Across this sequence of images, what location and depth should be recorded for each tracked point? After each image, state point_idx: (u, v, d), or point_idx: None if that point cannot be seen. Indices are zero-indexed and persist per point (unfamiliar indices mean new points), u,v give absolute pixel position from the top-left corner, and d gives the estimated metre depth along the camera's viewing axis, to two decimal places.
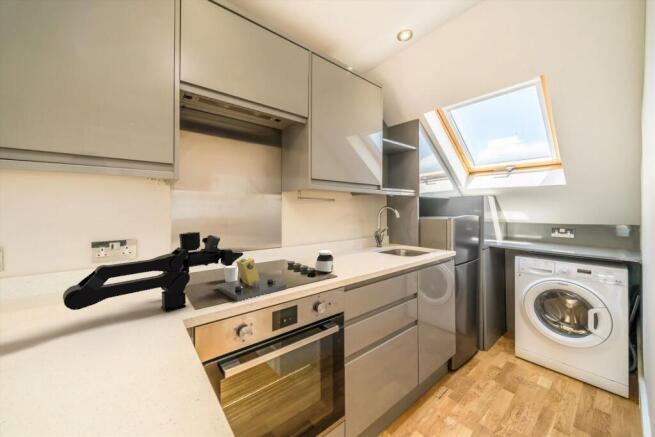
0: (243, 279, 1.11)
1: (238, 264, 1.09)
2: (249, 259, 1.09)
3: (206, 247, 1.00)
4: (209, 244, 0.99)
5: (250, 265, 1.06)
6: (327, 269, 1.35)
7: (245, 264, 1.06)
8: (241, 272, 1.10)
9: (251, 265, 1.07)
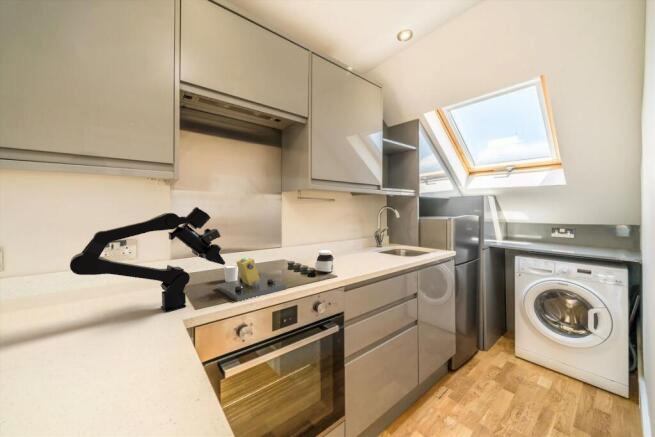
0: (243, 279, 1.11)
1: (238, 264, 1.09)
2: (249, 259, 1.09)
3: (203, 235, 0.98)
4: (208, 233, 0.98)
5: (250, 265, 1.06)
6: (327, 269, 1.35)
7: (245, 264, 1.06)
8: (241, 272, 1.10)
9: (251, 265, 1.07)
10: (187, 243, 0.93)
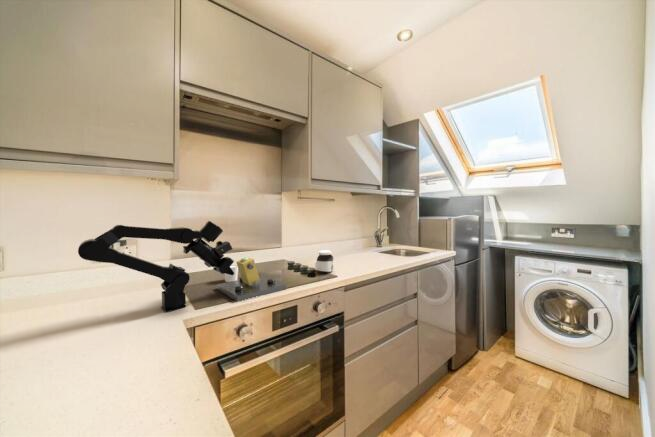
0: (243, 279, 1.11)
1: (238, 264, 1.09)
2: (249, 259, 1.09)
3: (216, 248, 1.02)
4: (220, 246, 1.01)
5: (250, 265, 1.06)
6: (327, 269, 1.35)
7: (245, 264, 1.06)
8: (241, 272, 1.10)
9: (251, 265, 1.07)
10: (201, 256, 0.96)
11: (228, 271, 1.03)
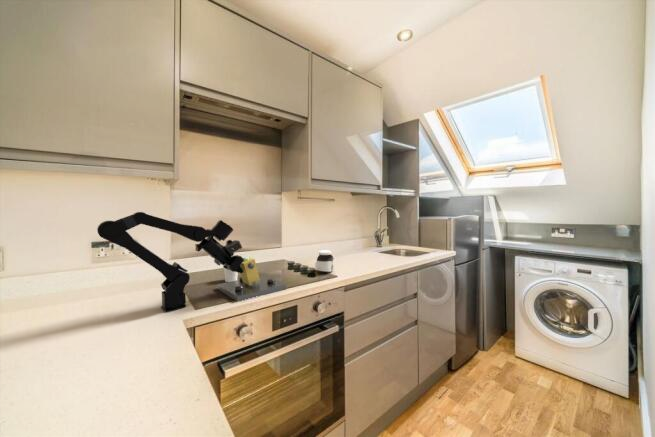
0: (243, 279, 1.11)
1: None
2: (250, 259, 1.10)
3: (226, 246, 1.04)
4: (231, 245, 1.04)
5: (251, 265, 1.07)
6: (327, 269, 1.35)
7: (246, 263, 1.06)
8: None
9: (252, 265, 1.07)
10: (212, 254, 0.99)
11: (238, 269, 1.06)
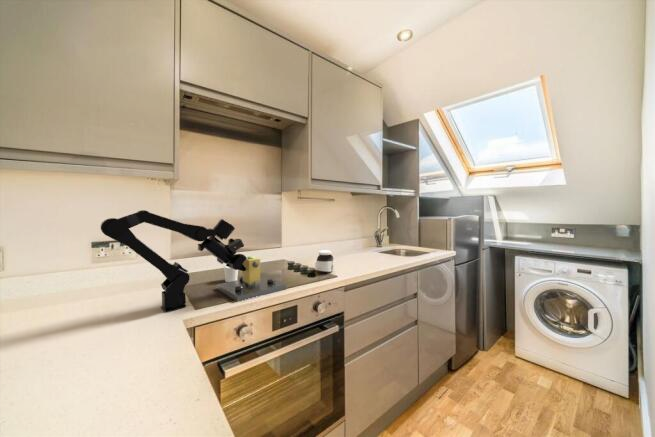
0: (244, 277, 1.11)
1: (244, 261, 1.11)
2: (255, 258, 1.11)
3: (228, 245, 1.05)
4: (233, 243, 1.04)
5: (255, 263, 1.08)
6: (327, 269, 1.35)
7: (251, 261, 1.08)
8: None
9: (256, 264, 1.08)
10: (215, 253, 0.99)
11: (240, 267, 1.07)
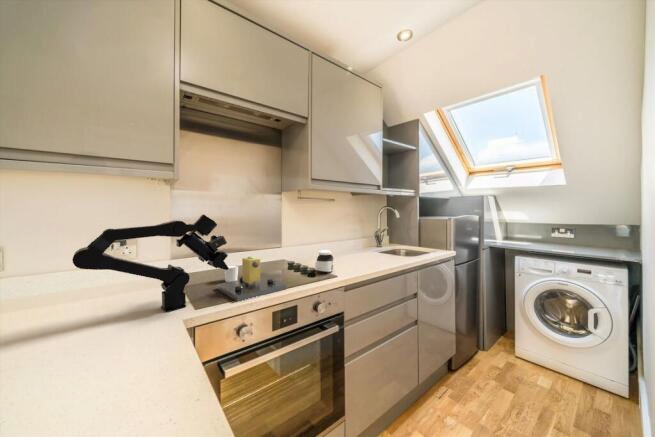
0: (244, 277, 1.11)
1: (244, 261, 1.11)
2: (255, 258, 1.11)
3: (210, 242, 1.00)
4: (214, 240, 0.99)
5: (255, 263, 1.08)
6: (327, 269, 1.35)
7: (251, 261, 1.08)
8: (244, 269, 1.11)
9: (256, 264, 1.08)
10: (194, 250, 0.94)
11: (222, 266, 1.02)
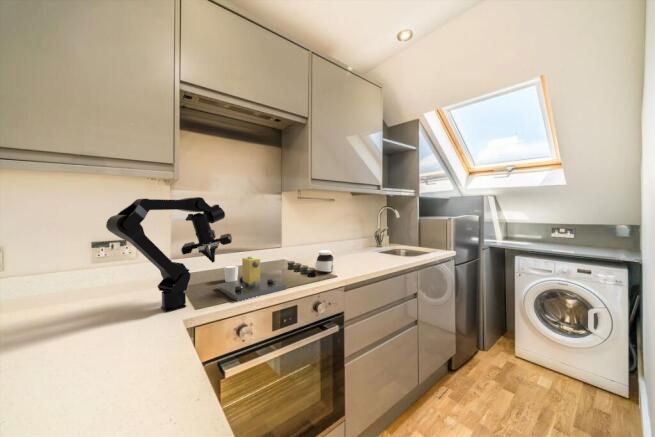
0: (244, 277, 1.11)
1: (244, 261, 1.11)
2: (255, 258, 1.11)
3: None
4: None
5: (255, 263, 1.08)
6: (327, 269, 1.35)
7: (251, 261, 1.08)
8: (244, 269, 1.11)
9: (256, 264, 1.08)
10: (205, 228, 1.00)
11: (214, 255, 1.05)
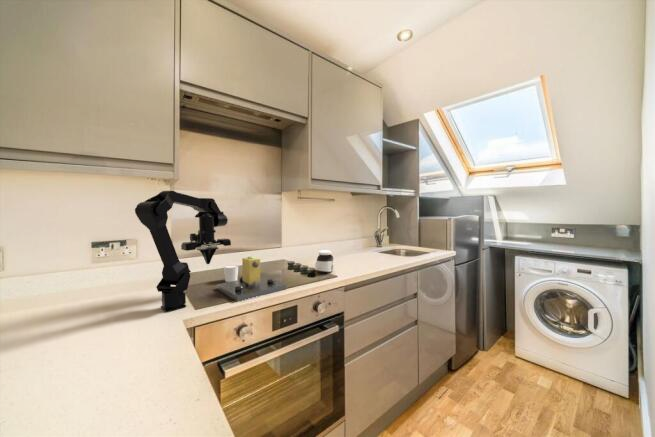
0: (244, 277, 1.11)
1: (244, 261, 1.11)
2: (255, 258, 1.11)
3: None
4: None
5: (255, 263, 1.08)
6: (327, 269, 1.35)
7: (251, 261, 1.08)
8: (244, 269, 1.11)
9: (256, 264, 1.08)
10: (212, 227, 1.07)
11: None
